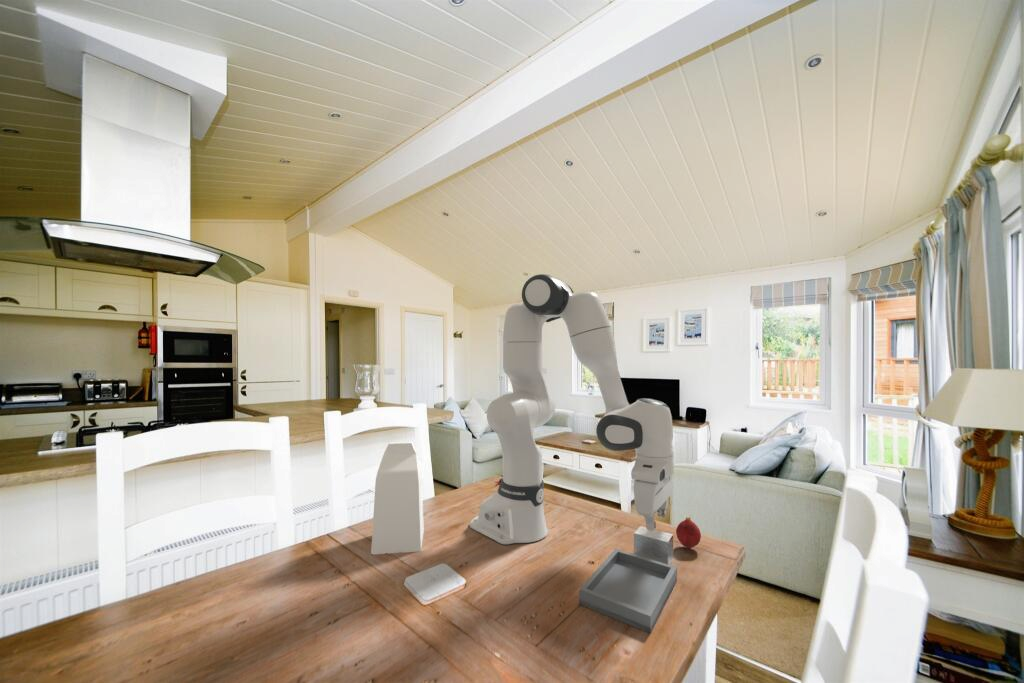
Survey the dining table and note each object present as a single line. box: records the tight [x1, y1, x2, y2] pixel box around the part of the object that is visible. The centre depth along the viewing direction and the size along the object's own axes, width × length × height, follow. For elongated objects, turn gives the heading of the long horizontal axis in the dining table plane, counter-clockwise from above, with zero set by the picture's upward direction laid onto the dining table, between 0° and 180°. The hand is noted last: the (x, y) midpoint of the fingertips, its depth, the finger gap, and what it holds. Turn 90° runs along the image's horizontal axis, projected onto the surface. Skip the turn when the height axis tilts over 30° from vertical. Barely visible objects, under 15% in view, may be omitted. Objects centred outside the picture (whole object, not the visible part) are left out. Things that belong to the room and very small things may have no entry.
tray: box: [578, 548, 678, 634], centre depth 84 cm, size 14×20×3 cm
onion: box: [675, 516, 702, 550], centre depth 102 cm, size 6×6×8 cm
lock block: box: [633, 525, 674, 565], centre depth 98 cm, size 8×5×6 cm, turn 55°
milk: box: [370, 441, 425, 555], centre depth 105 cm, size 12×12×26 cm
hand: (656, 522), depth 97 cm, fingers open, 8 cm apart
